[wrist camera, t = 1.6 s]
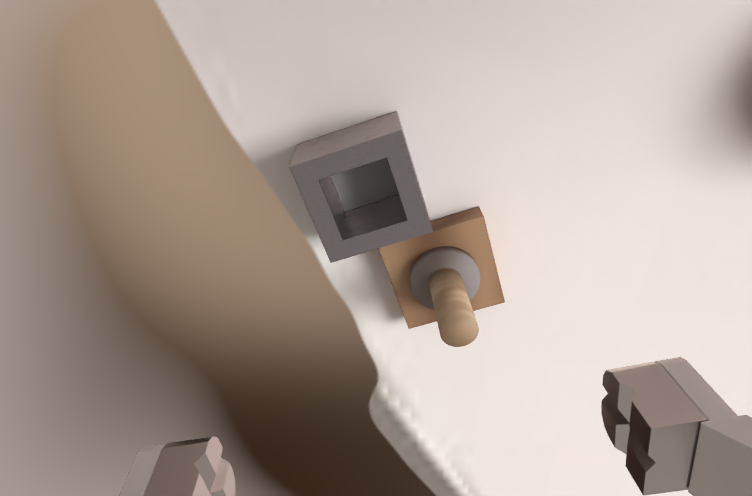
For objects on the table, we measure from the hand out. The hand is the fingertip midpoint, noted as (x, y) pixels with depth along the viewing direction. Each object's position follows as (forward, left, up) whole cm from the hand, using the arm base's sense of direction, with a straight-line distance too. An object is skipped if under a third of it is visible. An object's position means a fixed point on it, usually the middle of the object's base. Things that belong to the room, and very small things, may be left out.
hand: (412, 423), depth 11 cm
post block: (-1, +11, -23) cm, 25 cm away
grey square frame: (+2, +3, -23) cm, 23 cm away
